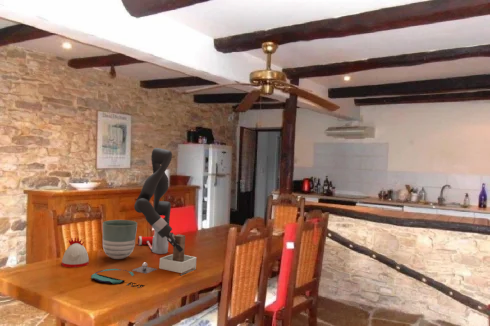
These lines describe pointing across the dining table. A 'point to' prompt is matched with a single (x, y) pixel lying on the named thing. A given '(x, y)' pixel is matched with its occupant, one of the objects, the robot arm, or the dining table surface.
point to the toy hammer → (145, 241)
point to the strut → (181, 241)
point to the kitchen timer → (75, 255)
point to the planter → (119, 238)
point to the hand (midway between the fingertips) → (181, 249)
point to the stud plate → (144, 269)
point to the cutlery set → (110, 278)
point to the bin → (178, 264)
